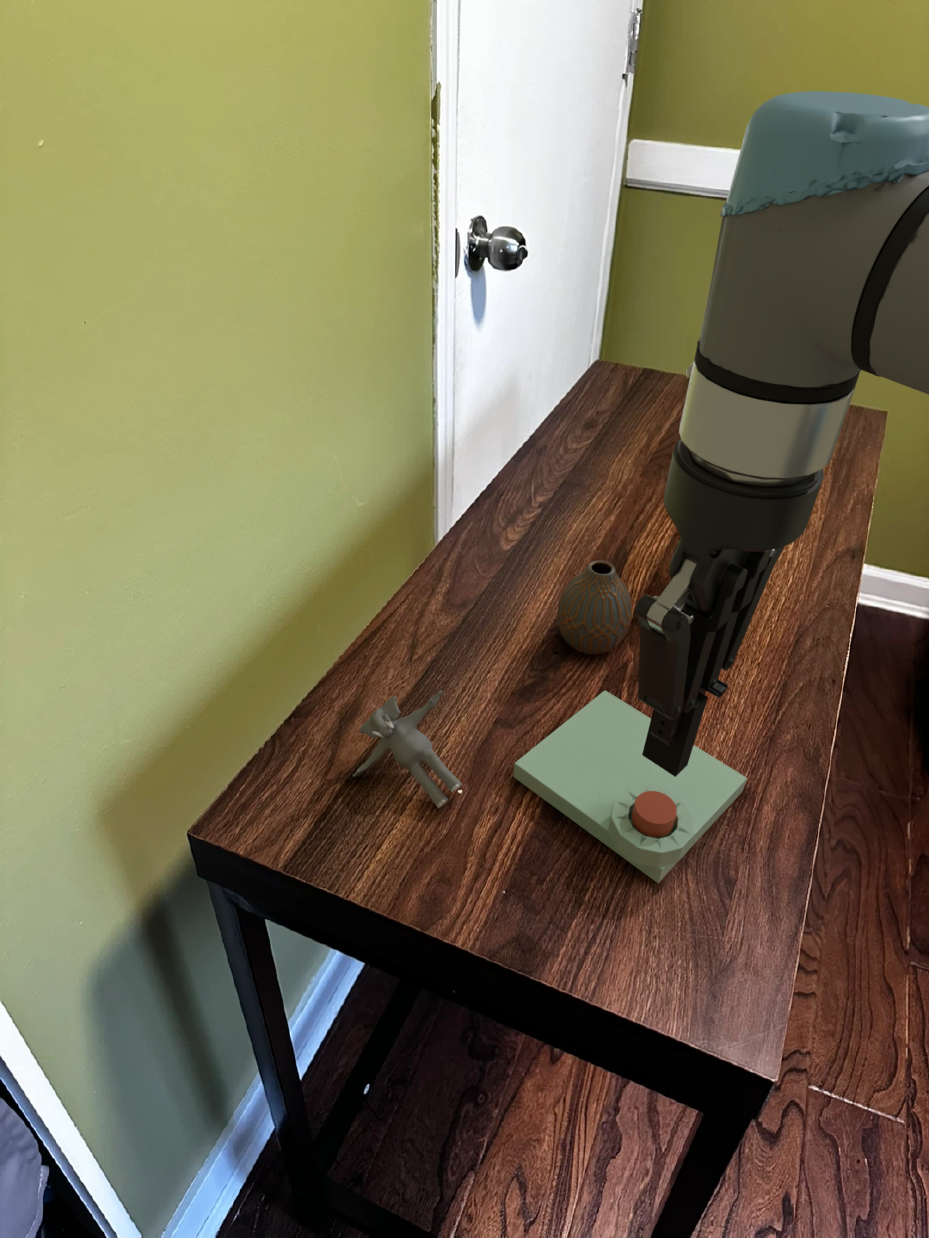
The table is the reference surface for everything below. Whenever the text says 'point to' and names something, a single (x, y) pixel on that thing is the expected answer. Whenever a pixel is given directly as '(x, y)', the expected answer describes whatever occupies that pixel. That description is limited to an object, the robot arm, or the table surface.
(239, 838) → the table surface
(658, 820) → the button
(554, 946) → the table surface
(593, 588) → the vase
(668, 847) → the green push button box
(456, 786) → the elephant figurine
